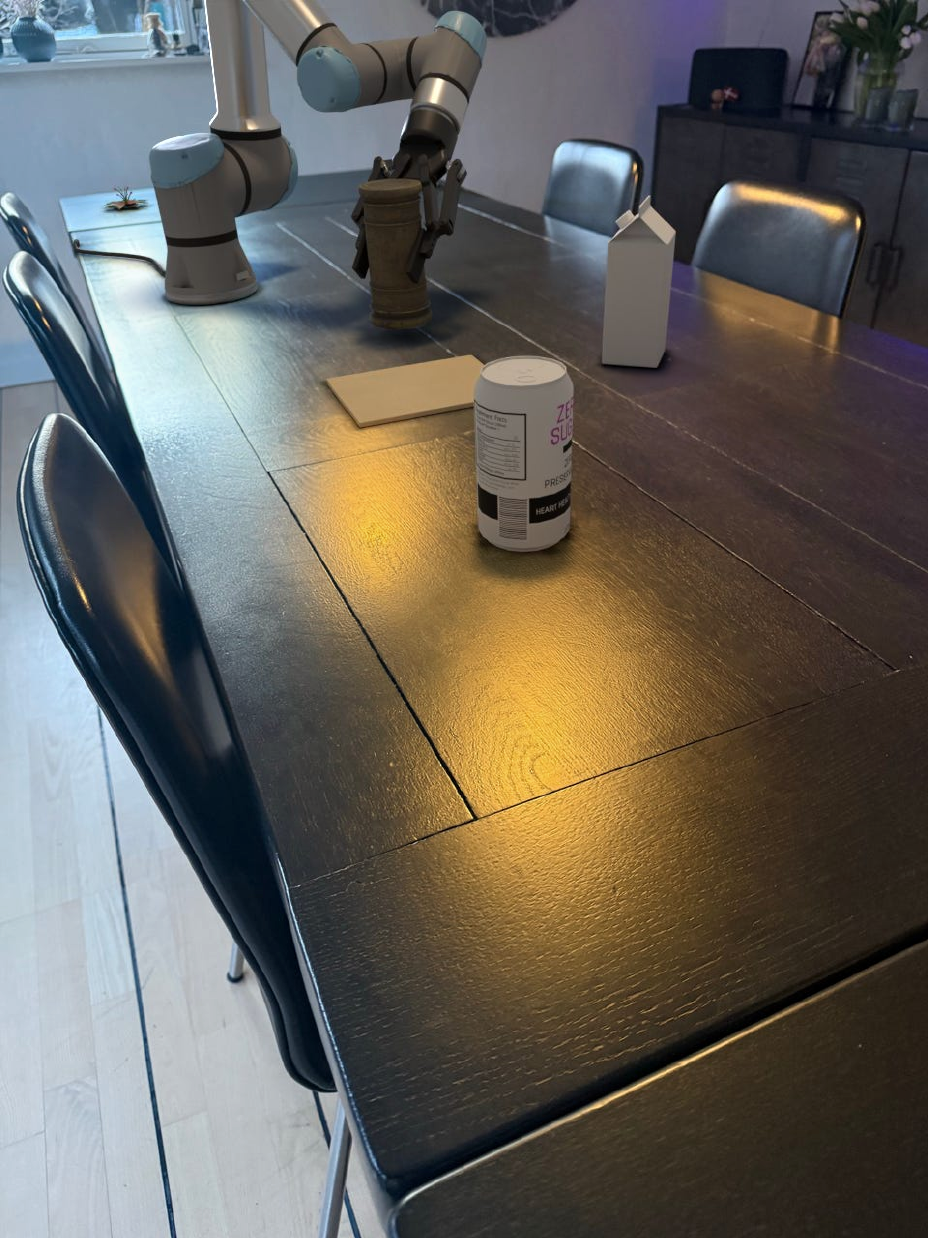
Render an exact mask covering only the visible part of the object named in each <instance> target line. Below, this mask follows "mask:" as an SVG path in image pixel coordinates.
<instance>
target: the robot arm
mask: <svg viewBox="0 0 928 1238" xmlns="http://www.w3.org/2000/svg"><path fill="white" fill-rule="evenodd" d="M203 1H204V8H205V9H204V10H205V16H206V25H207V34H208V43H209V50H210V59H211V60H210V61H211V68H212V76H213V85H214V94H215V101H216V113H215V115H214V116H213V118H212V119H211V120H210V121H209V132H197V133H196V132H195V133H189V134H185V135H183V136H181V135H179V136H175V137H172V138H168V139H165V140H163V141H161V142H159V143H157V144H156V145H154V146H153V147H152V148H151V149H150V151H149V154H148V162H149V168H150V180H151V183H152V185H153V191H154V194H155V199H156V203H157V207H158V212H159V215H160V221H161V225H162V228H163V235H164V238H165V243H166V249H167V251H166V265H165V269H164V268H163V266H161V265H160V264H159V262H157V261H156V260H155V259H154V258H152V257H149V256H145V255H141V254H134V253H126V252H125V253H124V252H111V251H100V250H90V249H89V250H88V249H82V248H79V247H80V246H81V243H80V240H79V238H75V239H74V240H73V242H72V246H73V250H74V252H76V253H78V254H81V255H88V256H99V257H111V258H124V259H133V260H138V261H139V260H140V261H145V262H147V263H149V264H152V265H153V266H154V267H155V268H156V269H157V270H158V271H159V272H160V273H161V274H162V275H163V276H164V277H165V278H164V291H165V295H166V299H167V300H168V301H169V302H172V303H175V304H179V305H190V306H199V305H200V306H202V305H215V304H222V303H227V302H233V301H237V300H240V299H244V298H247V297H249V296H251V295H253V294H254V293H256V291H258V289H259V286H258V281H257V280H258V279H257V277H256V274H255V271H254V269H253V267H252V265H251V263H250V261H249V259H248V257H247V255H246V253H245V250H244V249H243V247H242V245H241V243H240V239H239V235H238V234H239V233H238V228H237V223H236V218H240V217H243V216H247V215H249V214H253V213H257V212H260V211H261V212H264V211H268V210H272V209H274V208H275V207H276V206H278V205H281V204H283V203H284V202H286V201H287V200H288V199H289V198H290V197H291V195H292V194H293V193H294V190H295V188H296V186H297V182H298V177H299V164H298V158H297V154H296V151H295V149H294V148H293V147H291V141H289V139H288V138H287V137H286V136H285V135H283V134H282V123H281V122H280V121H279V120H278V119H277V118H276V116H275V115H274V114H273V112H272V110H271V101H270V99H271V98H270V90H269V89H270V88H269V76H268V65H267V52H266V41H265V31H264V29H265V30H266V31H267V32H268V34H269V35H270V36H271V37H272V39H273V40H274V41H275V43H277V44H278V46H279V47H280V49H282V51H283V52H284V53H285V55H286V56H287V57H288V58H289V59H290V61H291V62H292V63H293V65H295V67H296V82H297V86H298V87H299V90H300V93H301V94H300V95H301V97H302V99H303V101H304V102H305V103H306V104H307V105H308V106H309V107H310V108H312V109H313V110H314V111H317V112H319V113H326V114H327V113H345V112H348V111H350V110H354V109H359V108H363V107H369V106H370V107H371V106H376V105H381V104H387V103H392V102H397V101H405V100H411V103H410V106H409V109H408V114H407V116H406V118H405V122H404V125H403V128H402V131H401V134H400V136H399V137H400V138H399V146H398V147H399V148H398V150H397V152H396V153H395V154H394V155H393V157H392V158H390V159H383V158H382V156H381V155H379V156H376V157H374V159H373V163H372V169H371V170H372V171H371V173H370V175H369V177H368V180H367V181H366V182H370V181H376V180H384V179H412V180H417V181H420V182H421V184H422V191H421V192H422V197H423V198H422V199H423V209H424V212H423V213H424V222H423V225H424V226H425V227H422V228H419V231H418V234H417V237H416V240H415V243H414V246H413V249H412V252H411V256H410V259H409V262H408V265H407V268H406V271H405V273H406V274H407V275H408V277H409V278H410V280H411V281H412V282H413V283H415V284H418V282H419V279H420V276H421V273H422V270H423V267H424V268H425V263H426V260H430V259H431V258H432V256H433V255H434V250H435V248H436V245H437V242H438V239H440V238H441V237H442V236H444V235H445V236H447V237H450V236H452V235H453V234H454V231H455V225H456V220H457V215H458V214H457V213H458V208H459V202H460V195H461V188H462V185H463V183H464V182H465V180H466V177H467V175H468V172H467V170H466V168H465V166H464V164H463V162H462V160H461V159H460V158H455V159H454V160H452V158H453V155H454V152H455V149H456V146H457V143H458V139H459V134H460V132H461V130H462V126H463V123H464V120H465V117H466V114H467V111H468V108H469V104H470V99H471V96H472V94H473V91H474V88H475V85H476V83H477V80H478V78H479V74H480V72H481V70H482V68H483V61H484V56H485V54H486V53H485V52H486V49H487V46H488V45H487V44H488V38H487V34H486V31H485V29H484V27H483V25H482V24H481V23H480V22H479V20H478V19H476V17H474V16H472V15H471V14H469V13H467V12H465V11H460V10H450V11H447V12H445V13H444V14H443V15H442V16H441V17H439V19H438V21H437V23H436V25H435V26H434V29H433V30H434V31H433V33H431V34H424V35H423V34H422V35H418V36H415V37H408V38H407V37H406V38H398V39H397V38H396V39H387V40H376V41H370V42H360V43H352V42H351V41H350V40H349V39H348V38H347V36H346V35H345V34H344V32H342V30H341V29H340V28H339V27H338V25H337V24H336V23H335V22H334V21H333V20H332V18H331V17H330V15H328V13H327V12H326V11H325V10H324V8H323V7H322V5H321V4H320V3H319V2H318V1H317V0H203ZM445 175H446V176H445ZM444 176H445V182H444V187H443V188H444V189H443V193H442V194H443V195H442V200H441V206H440V211H439V200H438V197H439V188H438V187H439V185H438V186H437V181H438V182H439V181H440V180H441V179H442V178H443V177H444ZM362 199H363V197H362V196H360V195H359V198H358V200H357V202H356V204H355V206H354V208H353V211H352V213H351V214H350V219H351V220H352V221H353V222H354V224H355V225H356V228H358V229H359V231H358V234H357V237H356V241H355V243H354V247H355V249H356V250H357V251H356V254H355V257H354V260H353V263H352V266H351V269H352V270H353V272H355V274H356V275H357V276H358V277H359V278H360V279H361V280H366V279H367V275H368V272H369V260H368V251H367V241H366V231H365V223H364V217H365V216H364V206H363V203H362ZM439 212H440V213H439ZM425 228H426V229H425Z"/></svg>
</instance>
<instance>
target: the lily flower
mask: <svg viewBox="0 0 928 1238" xmlns="http://www.w3.org/2000/svg"><path fill="white" fill-rule="evenodd" d="M117 188H118V189H119V190H120V191H119V190H118V189H117ZM117 188H115V187H113V190H114V191H116V192H118V193H119V194H118V193H116V197H120V198H121V199H122V200H117V201H110V202H108V203H107V204H104V205H103V206H105V207H103V208H102V210H103V209H114V208H117V209H118V210H120V209H121V208H133V207H134V208H139V206H140V204H148V202H147V201H148V199H136V198H133V199H130V197H131V195H132V194H133V191H131V190H130V192H129V194H128V189H129V186H126V188H123V190H124V191H122V189H121V188H120V186H118V187H117Z"/></svg>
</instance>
